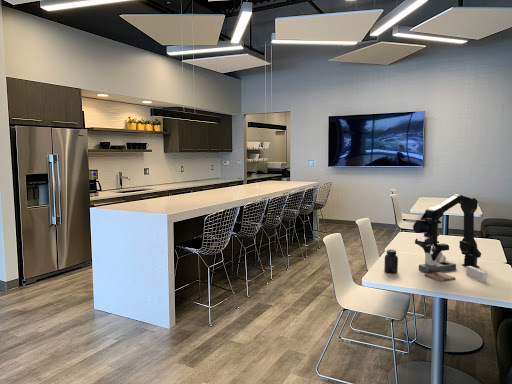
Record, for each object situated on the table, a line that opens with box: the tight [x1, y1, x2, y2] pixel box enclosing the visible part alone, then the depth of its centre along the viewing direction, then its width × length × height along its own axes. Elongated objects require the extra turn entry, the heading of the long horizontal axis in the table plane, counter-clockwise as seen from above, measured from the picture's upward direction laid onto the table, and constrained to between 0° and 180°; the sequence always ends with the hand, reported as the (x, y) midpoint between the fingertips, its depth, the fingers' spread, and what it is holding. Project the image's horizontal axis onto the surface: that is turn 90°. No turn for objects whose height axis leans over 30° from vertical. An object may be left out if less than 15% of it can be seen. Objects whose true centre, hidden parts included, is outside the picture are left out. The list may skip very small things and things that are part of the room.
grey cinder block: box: [418, 260, 457, 274], centre depth 211 cm, size 20×7×3 cm, turn 112°
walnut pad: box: [424, 272, 456, 283], centre depth 197 cm, size 10×10×1 cm
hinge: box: [430, 246, 447, 262], centre depth 229 cm, size 17×5×10 cm, turn 148°
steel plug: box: [424, 252, 437, 267], centre depth 208 cm, size 4×4×8 cm
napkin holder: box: [465, 266, 488, 283], centre depth 195 cm, size 15×11×6 cm
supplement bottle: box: [383, 249, 399, 275], centre depth 206 cm, size 7×7×12 cm
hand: (430, 259), depth 208 cm, fingers closed on steel plug, 4 cm apart
